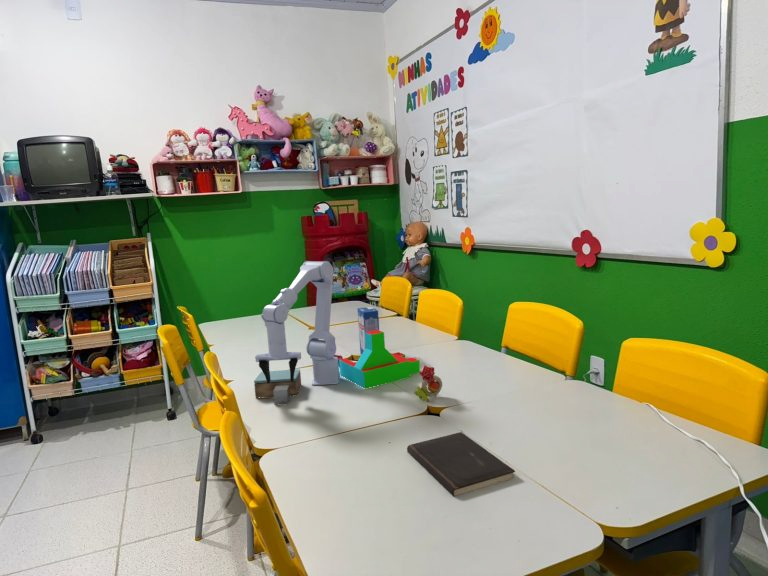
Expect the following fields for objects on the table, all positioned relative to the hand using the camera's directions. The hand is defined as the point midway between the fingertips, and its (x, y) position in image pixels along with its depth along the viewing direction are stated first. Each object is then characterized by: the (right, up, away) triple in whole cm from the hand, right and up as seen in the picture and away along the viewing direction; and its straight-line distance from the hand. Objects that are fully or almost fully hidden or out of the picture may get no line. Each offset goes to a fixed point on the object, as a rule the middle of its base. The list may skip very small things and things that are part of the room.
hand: (280, 381), depth 168 cm
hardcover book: (+52, -12, -45) cm, 70 cm away
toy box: (-3, -6, +11) cm, 13 cm away
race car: (+12, -1, +39) cm, 41 cm away
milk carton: (+28, +2, +48) cm, 56 cm away
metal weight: (0, -7, +1) cm, 7 cm away
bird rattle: (+49, -5, -3) cm, 49 cm away
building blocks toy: (+33, -2, +23) cm, 40 cm away
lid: (-3, 0, +11) cm, 11 cm away
